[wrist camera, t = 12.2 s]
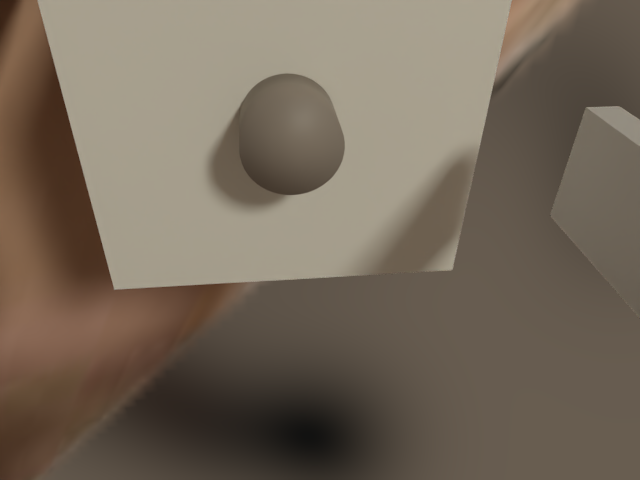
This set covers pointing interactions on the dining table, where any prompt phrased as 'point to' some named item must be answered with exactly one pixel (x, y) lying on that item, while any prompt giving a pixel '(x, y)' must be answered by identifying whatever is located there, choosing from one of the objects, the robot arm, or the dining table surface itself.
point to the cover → (275, 132)
